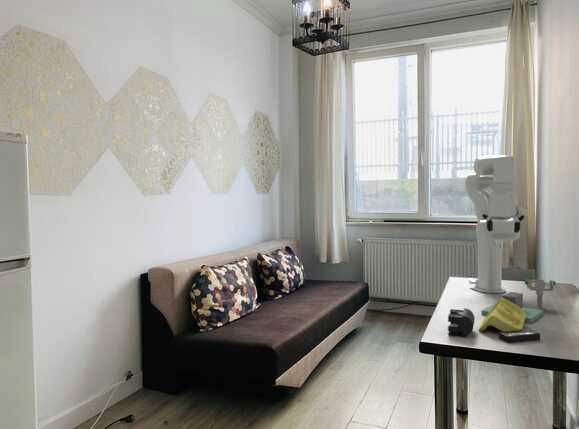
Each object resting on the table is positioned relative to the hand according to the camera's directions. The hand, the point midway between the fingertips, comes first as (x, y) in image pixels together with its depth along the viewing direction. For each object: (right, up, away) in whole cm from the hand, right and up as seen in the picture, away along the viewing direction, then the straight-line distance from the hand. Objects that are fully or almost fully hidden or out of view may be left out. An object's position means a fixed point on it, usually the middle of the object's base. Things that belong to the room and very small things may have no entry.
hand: (503, 231), depth 170 cm
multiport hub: (-15, -31, -41) cm, 53 cm away
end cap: (-30, -30, -34) cm, 55 cm away
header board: (-4, -29, -15) cm, 33 cm away
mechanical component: (+12, -28, -4) cm, 31 cm away
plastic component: (-14, -30, -29) cm, 44 cm away
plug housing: (-4, -27, -15) cm, 31 cm away
